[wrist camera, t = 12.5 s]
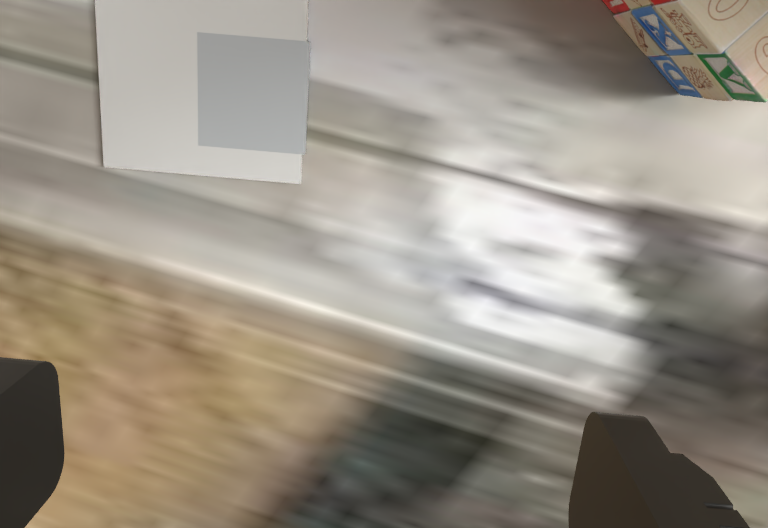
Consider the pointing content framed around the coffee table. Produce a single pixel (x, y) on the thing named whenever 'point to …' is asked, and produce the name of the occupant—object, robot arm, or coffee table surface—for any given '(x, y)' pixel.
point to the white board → (204, 86)
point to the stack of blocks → (702, 44)
